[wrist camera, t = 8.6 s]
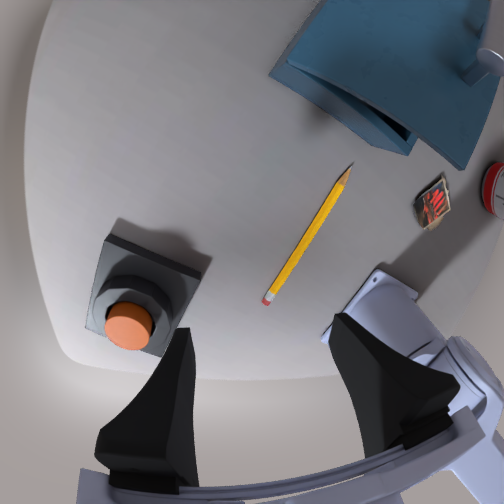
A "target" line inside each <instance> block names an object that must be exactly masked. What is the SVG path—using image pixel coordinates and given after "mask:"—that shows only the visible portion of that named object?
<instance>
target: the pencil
mask: <svg viewBox="0 0 504 504" xmlns="http://www.w3.org/2000/svg"><path fill="white" fill-rule="evenodd" d="M351 168H352V166H351V167H350V168H349V169H348V170H347V171H346V172H345V173H344V175H343V176H342V177H341V178H340V179H339V180H338V181H337V183H336V184H335V186H334V188H333V189H332V191H331V193H330V194H329V196H328V198H327V199H326V201H325V203H324V204H323V206H322V207H321V209H320V211H319V212H318V214H317V216H316V217H315V219H314V220H313V222H312V224H311V225H310V227H309V228H308V230H307V232H306V233H305V235H304V236H303V238H302V240H301V241H300V243H299V244H298V246H297V248H296V249H295V251H294V252H293V254H292V255H291V257H290V259H289V260H288V262H287V263H286V265H285V266H284V268H283V269H282V271H281V272H280V274H279V276H278V277H277V279H276V280H275V282H274V283H273V285H272V286H271V288H270V289H269V291H268V292H267V294H266V295H265V297H264V298H263V300H262V303H263V304H264V305H267V306H268V305H269V304H270V303H271V301H272V300H273V298H274V297H275V295H276V294H277V292H278V291H279V289H280V288H281V286H282V285H283V283H284V282H285V280H286V279H287V277H288V276H289V274H290V273H291V271H292V270H293V268H294V267H295V265H296V264H297V262H298V261H299V259H300V258H301V256H302V255H303V253H304V251H305V250H306V248H307V247H308V245H309V244H310V242H311V241H312V239H313V237H314V236H315V234H316V233H317V231H318V230H319V228H320V226H321V225H322V223H323V222H324V220H325V218H326V217H327V215H328V214H329V212H330V210H331V209H332V207H333V205H334V204H335V202H336V201H337V199H338V197H339V196H340V194H341V192H342V191H343V189H344V187H345V185H346V182H347V179H348V177H349V174H350V171H351Z"/></svg>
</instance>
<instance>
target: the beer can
mask: <svg viewBox="0 0 504 504" xmlns="http://www.w3.org/2000/svg"><path fill="white" fill-rule="evenodd" d="M482 198H483V201H484V205H485V207H486V209H487V210H488V211H489V212H490V213H492V214H494V215H495V216H497V217H499V218H500V219H502V220H504V163H499V162H497V163H495V164H493V165H492V166H491V167H489V169H488V170H487V171H486V173H485V176H484V179H483V182H482Z"/></svg>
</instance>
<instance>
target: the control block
mask: <svg viewBox="0 0 504 504" xmlns="http://www.w3.org/2000/svg"><path fill="white" fill-rule="evenodd" d="M200 281H201V272H199V271H196V270H194V269H191V268H189V267H186V266H184V265H181V264H179V263H176V262H174V261H172V260H169V259H167V258H164V257H162V256H160V255H157V254H155V253H153V252H150V251H148V250H146V249H143V248H141V247H139V246H136V245H134V244H132V243H129V242H127V241H125V240H123V239H120V238H118V237H116V236H114V235H111V234H109V235H108V236H107V237H106V239H105V240H104V243H103V247H102V251H101V254H100V258H99V262H98V266H97V270H96V275H95V279H94V283H93V288H92V293H91V298H90V303H89V308H88V314H87V320H86V326H85V328H86V329H88V330H90V331H93V332H95V333H97V334H100V335H102V336H104V337H107V335H106V333H105V323H106V320H107V318H108V315H109V313H110V311H111V309H112V307H113V306H114V305H115V304H117V303H120V302H132V303H136V304H138V305H140V306H142V307H143V308H144V309H145V310H146V311H147V312H148V313H149V314H150V316H151V318H152V329H151V333H150V338H149V342H148V344H147V345H146V346H145V347H144V348H142V349H139V350H141V351H143V352H146V353H149V354H152V355H155V356H158V357H162V356H163V354H164V352H165V350H166V348H167V346H168V344H169V341H170V339H171V337H172V335H173V334H174V332H175V330H176V328H177V326H178V324H179V322H180V320H181V318H182V316H183V314H184V312H185V310H186V308H187V306H188V304H189V302H190V300H191V298H192V296H193V294H194V292H195V291H196V289H197V287H198V285H199V283H200ZM107 338H108V337H107ZM108 339H109V338H108ZM109 340H110V339H109ZM110 341H111V340H110Z"/></svg>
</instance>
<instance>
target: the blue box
mask: <svg viewBox="0 0 504 504" xmlns="http://www.w3.org/2000/svg"><path fill="white" fill-rule="evenodd" d="M327 1H328V0H321V1H320V2H319V3H318V5H317V6H316V7H315V9H314V10H313V11H312V13H311V14H310V15H309V17H308V18H307V19H306V21H305V22H304V24H303V25H302V26H301V28H300V29H299V31H298V32H297V33H296V35H295V36H294V38H293V39H292V41H291V42H290V43H289V45H288V46H287V48H286V49H285V51H284V52H283V54H282V55H281V57H280V58H279V60H278V61H277V63H276V64H275V66H274V67H273V69H272V70H271V72H270V74H269V76H270V77H271V78H273V79H275V80H277V81H278V82H280V83H282V84H284V85H285V86H287V87H289V88H290V89H292V90H294V91H295V92H297V93H298V94H300V95H302V96H303V97H305V98H306V99H308V100H309V101H311V102H313V103H314V104H316V105H317V106H319V107H320V108H322V109H323V110H324V111H326V112H327V113H329V114H330V115H332V116H333V117H334V118H336V119H337V120H339V121H340V122H341V123H343V124H344V125H345V126H347V127H348V128H349V129H351V130H352V131H353V132H355V133H356V134H357V135H359V136H360V137H361V138H362V139H364V140H365V141H366V142H367V143H369V144H370V145H371V146H374V147H378V148H381V149H385V150H388V151H392V152H395V153H399V154H402V155H405V156H408V155H409V153H410V152H411V150H412V148H413V146H414V144H415V142H416V141H417V139H418V137H417V136H416V135H414V134H413V133H412V132H410V131H409V130H408V129H406V128H405V127H403V126H402V125H400V124H399V123H398V122H396V121H395V120H393V119H392V118H390V117H389V116H387V115H385V114H384V113H382V112H381V111H379V110H378V109H376V108H374V107H373V106H371V105H369V104H368V103H366V102H364V101H363V100H361V99H359V98H357V97H356V96H354V95H352V94H350V93H349V92H347V91H345V90H343V89H341V88H339V87H337V86H335V85H333V84H331V83H329V82H327V81H325V80H323V79H321V78H319V77H317V76H315V75H313V74H311V73H308V72H306V71H304V70H302V69H299V68H297V67H295V66H292V65H290V64H289V63H288V61H287V57H288V55H289V54H290V52H291V51H292V49H293V48H294V47H295V45H296V44H297V42H298V41H299V39H300V38H301V36H302V35H303V34H304V32H305V31H306V29H307V28H308V26H309V25H310V24H311V22H312V21H313V20H314V18H315V17H316V15H317V14H318V13H319V11H320V10H321V9H322V7H323V6H324V5H325V3H326V2H327Z"/></svg>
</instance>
